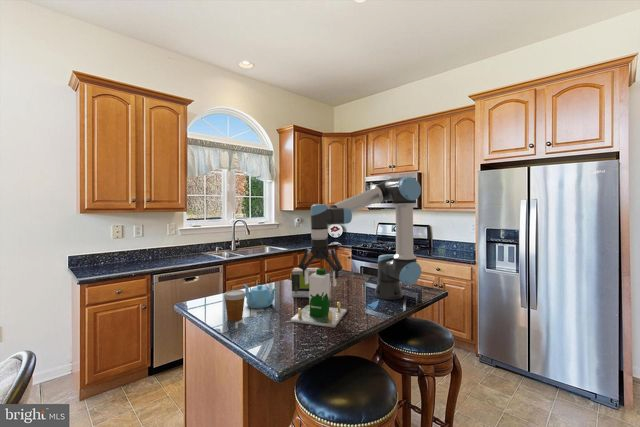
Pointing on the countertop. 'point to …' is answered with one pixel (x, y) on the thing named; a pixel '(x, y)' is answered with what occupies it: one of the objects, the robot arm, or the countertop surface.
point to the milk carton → (319, 293)
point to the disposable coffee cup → (234, 304)
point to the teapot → (259, 297)
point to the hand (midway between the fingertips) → (320, 284)
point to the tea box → (301, 282)
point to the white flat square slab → (328, 320)
